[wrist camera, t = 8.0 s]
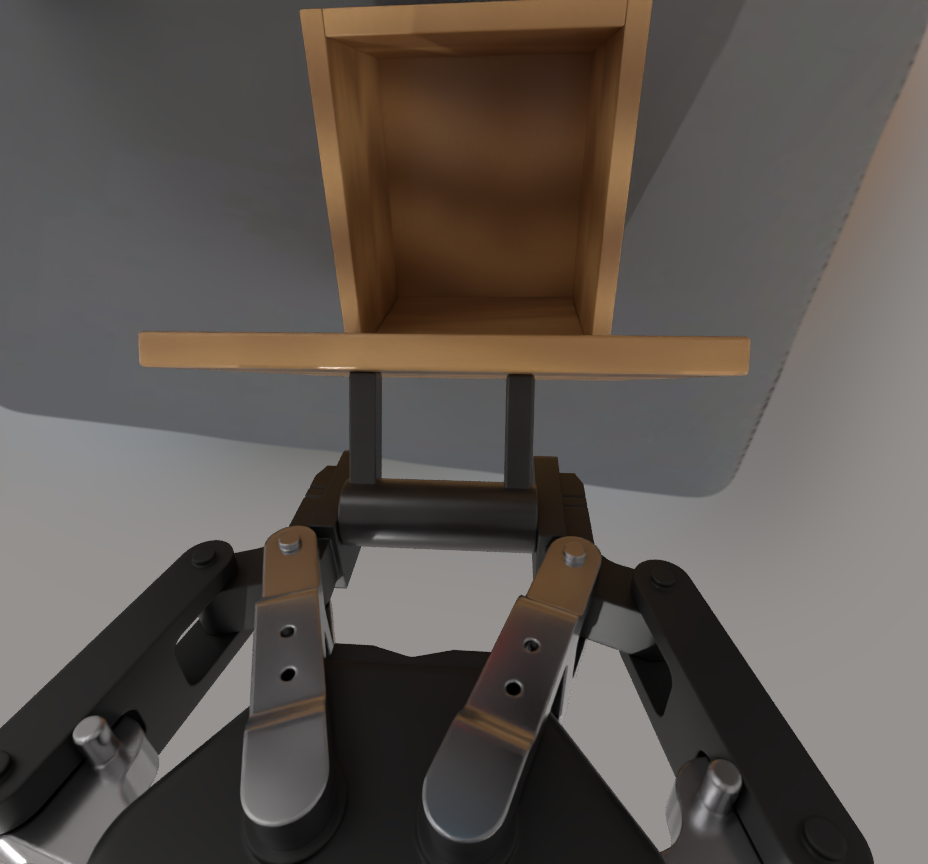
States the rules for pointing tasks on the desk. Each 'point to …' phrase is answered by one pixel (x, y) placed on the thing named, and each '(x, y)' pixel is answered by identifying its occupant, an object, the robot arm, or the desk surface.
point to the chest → (477, 160)
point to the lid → (445, 356)
